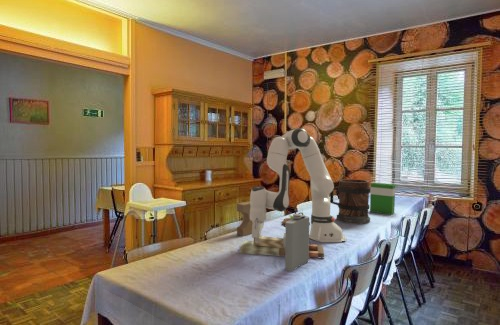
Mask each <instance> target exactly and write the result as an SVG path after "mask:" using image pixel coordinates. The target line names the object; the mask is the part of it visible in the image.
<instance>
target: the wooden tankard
mask: <svg viewBox="0 0 500 325" xmlns="http://www.w3.org/2000/svg"><path fill="white" fill-rule="evenodd" d="M338 183H339V184H338V186H334V189H333V191H332V192H331V193H329V199H330V204H333V205H336V206H337V208H338V214H336V221H338V222H340V223H344V224H350V225H366V224H369V223H370V222H371V217H370V216H369V210H370V201H369V198H370V194H371V187H370V181H369V180H367V179H358V178H357V179H356V178H355V179H354V178H348V179H347V178H346V179H345V178H343V179H339V180H338ZM335 190H337V191H338V201H339V202H336V201H334V191H335Z"/></svg>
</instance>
